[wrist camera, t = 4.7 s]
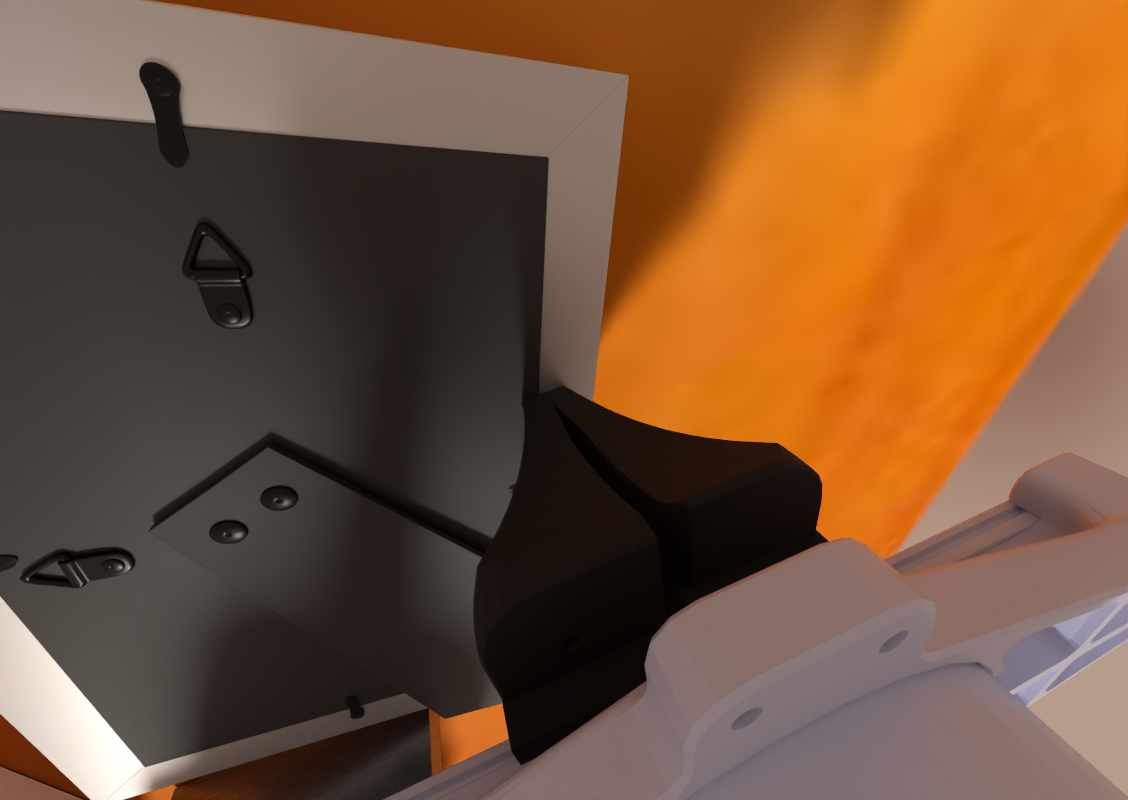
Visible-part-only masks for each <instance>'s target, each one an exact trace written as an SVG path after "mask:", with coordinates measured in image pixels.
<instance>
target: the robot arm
mask: <svg viewBox="0 0 1128 800" xmlns="http://www.w3.org/2000/svg"><path fill="white" fill-rule="evenodd" d="M522 407H523V411H524V422H525V424H524V444H523V452H522V459H521V465H520V469H519V474H518V478H517V481H516V485H515V488H514V491H513V494H512V497H511V500H510V503H509V506H508V508H507V510H506V513H505V515H504V517H503V519H502V521H501V524H500V526H499V528H498V530H497V532H496V534H495V536H494V538H493V540H492V542H491V543H490V545H489V547H488V548H487V550H486V552H485V553H484V555H483V557H482V559H481V560H480V562H479V564H478V565H477V571H476V579H475V588H474V601H473V623H474V632H475V639H476V645H477V652H478V656H479V659H480V662H481V665H482V667H483V669H484V670H485V672H486V674H487V675H488V677H489V679H490V680H491V682H492V684H493V685H494V687H495V689H496V690H497V692H498V694H499V695H500V697H501V699H502V703H503V708H504V714H505V719H506V725H507V730H508V736H509V739H508V740H506V741H504V742H502V743H500V744H498V745H496V746H493V747H491V748H489V749H487V750H485V751H483V752H481V753H479V754H477V755H475V756H473V757H470V758H468V759H466V760H464V761H462V762H460V763H458V764H456V765H454V766H452V767H450V768H447V769H445V770H443V771H441V772H439V773H437V774H435V775H433V776H431V777H429V778H427V779H424V780H422V781H420V782H418V783H416V784H414V785H412V786H410V787H408V788H406V789H404V790H401V791H399V792H397V793H395V794H393V795H391V796H389V797H387V798H385V799H383V800H1128V796H1127V795H1125V794H1124V793H1123V792H1122V791H1121V790H1120V789H1119V788H1118V787H1117V786H1115V785H1114V784H1113V783H1112V782H1111V781H1110V780H1108V779H1107V778H1106V777H1105V776H1104V775H1103V774H1102V773H1100V771H1098V770H1097V769H1096V768H1095V767H1094V766H1093V765H1092V764H1090V763H1089V762H1088V761H1087V760H1086V759H1085V758H1084V757H1082V756H1081V755H1080V754H1079V753H1078V752H1077V751H1076V750H1075V749H1073V748H1072V747H1071V746H1070V745H1069V744H1068V743H1067V742H1065V741H1064V740H1063V739H1062V738H1061V737H1060V736H1059V735H1057V734H1056V733H1055V732H1054V731H1053V730H1052V729H1051V728H1050V727H1048V726H1047V725H1046V724H1045V723H1044V722H1043V721H1042V720H1041V719H1039V718H1038V717H1037V716H1036V715H1035V714H1034V713H1033V712H1031V711H1030V710H1029V709H1028V708H1027V707H1028V706H1030V705H1031V704H1033V703H1034V702H1036V701H1037V700H1039V699H1040V698H1042V697H1043V696H1044V695H1046V694H1048V693H1049V692H1050V691H1052V690H1053V689H1055V688H1057V687H1058V686H1059V685H1061V684H1062V683H1064V682H1065V681H1067V680H1068V679H1070V678H1071V677H1073V676H1074V675H1076V674H1077V673H1079V672H1080V671H1082V670H1083V669H1085V668H1086V667H1088V666H1089V665H1091V664H1093V663H1094V662H1096V661H1097V660H1099V659H1100V658H1101V657H1103V656H1105V655H1106V654H1108V653H1109V652H1111V651H1113V650H1114V649H1116V648H1117V647H1119V646H1120V645H1122V644H1124V643H1125V642H1127V641H1128V478H1127V477H1125V476H1123V475H1120V474H1118V473H1116V472H1114V471H1111V470H1109V469H1107V468H1104V467H1102V466H1100V465H1098V464H1095V463H1093V462H1091V461H1089V460H1086V459H1084V458H1082V457H1080V456H1077V455H1075V454H1073V453H1071V452H1069V453H1063V454H1061V455H1058V456H1056V457H1054V458H1052V459H1050V460H1048V461H1046V462H1043V463H1041V464H1039V465H1037V466H1035V467H1033V468H1031V469H1029V470H1028V471H1026V472H1025V473H1024V474H1023V475H1022V476H1021V477H1020V478H1019V479H1018V480H1017V481H1016V483H1015V484H1014V486H1013V488H1012V490H1011V492H1010V495H1009V500H1008V501H1006V502H1003V503H1002V504H999V505H997V506H995V507H993V508H991V509H989V510H987V511H985V512H983V513H980V514H978V515H976V516H974V517H972V518H970V519H968V520H966V521H964V522H962V523H960V524H957V525H955V526H953V527H951V528H949V529H947V530H945V531H943V532H941V533H939V534H937V535H934V536H932V537H930V538H928V539H926V540H924V541H922V542H920V543H918V544H916V545H914V546H911V547H909V548H908V549H905V550H903V551H901V552H899V553H897V554H895V555H893V556H891V557H888V558H886V559H884V560H883V559H882V558H881V557H880V556H879V555H878V554H876V553H875V552H874V551H873V550H872V549H870V548H869V547H868V546H867V545H866V544H863V543H861V542H859V541H856V540H854V539H852V538H841V539H837V540H833V541H828V540H827V539H826V538H824V537H823V536H822V535H821V534H820V533H819V532H818V531H817V530H816V526H817V521H818V516H819V511H820V506H821V501H822V482H821V480H820V477H819V475H818V474H817V473H816V472H815V471H814V470H813V469H812V468H811V467H809V466H808V465H807V464H806V463H804V462H803V461H802V460H800V459H799V458H798V457H797V456H795V455H794V454H793V453H791V452H790V451H788V450H787V449H786V448H784V447H783V446H781V445H780V444H778V443H764V442H742V441H729V440H721V439H712V438H705V437H699V436H693V435H688V434H683V433H678V432H674V431H669V430H665V429H661V428H658V427H655V426H651V425H648V424H645V423H641V422H639V421H636V420H633V419H630V418H628V417H625V416H623V415H620V414H618V413H615V412H613V411H611V410H609V409H607V408H605V407H602V406H600V405H598V404H596V403H594V402H593V401H591V400H589V399H587V398H585V397H583V396H582V395H580V394H578V393H576V392H574V391H573V390H571V389H569V388H567V387H565V386H561V387H558V388H555V389H552V390H549V391H546V392H543V393H540V394H539V395H536V396H533V397H530V398H527V399H524V401H523V402H522Z"/></svg>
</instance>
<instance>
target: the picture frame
mask: <svg viewBox="0 0 1128 800" xmlns="http://www.w3.org/2000/svg"><path fill="white" fill-rule="evenodd" d="M628 83H629V75H628V74H622V73H615V72H609V71H602V70H596V69H590V68H583V67H577V66H571V65H564V64H558V63H551V62H545V61H539V60H532V59H526V58H519V57H513V56H507V55H500V54H494V53H487V52H481V51H475V50H468V49H462V48H456V47H449V46H443V45H436V44H430V43H424V42H417V41H411V40H404V39H398V38H392V37H385V36H379V35H373V34H366V33H360V32H353V31H347V30H341V29H334V28H328V27H321V26H315V25H309V24H302V23H296V22H290V21H283V20H277V19H270V18H264V17H258V16H251V15H245V14H238V13H232V12H226V11H219V10H213V9H206V8H200V7H194V6H187V5H181V4H175V3H168V2H162V1H155V0H0V714H1V715H2V716H3V717H4V718H5V719H6V720H7V721H8V722H9V723H11V724H12V725H13V726H14V727H15V728H16V729H17V730H18V731H19V732H20V733H21V734H22V735H23V736H24V737H25V738H26V739H27V740H28V741H29V742H31V743H32V744H33V745H34V746H35V747H36V748H37V749H38V750H39V751H40V752H41V753H42V754H43V755H44V756H45V757H46V758H47V759H48V760H49V761H51V762H52V763H53V764H54V765H55V766H56V767H57V768H58V769H59V770H60V771H61V772H62V773H63V774H64V775H65V776H66V777H67V778H68V779H69V780H71V781H72V782H73V783H74V784H75V785H76V786H77V787H78V788H79V789H80V790H81V791H82V792H83V793H84V794H85V795H86V796H87V797H88V798H89V799H91V800H124V799H127V798H130V797H134V796H137V795H140V794H144V793H147V792H150V791H154V790H157V789H160V788H164V787H167V786H170V785H174V784H177V783H180V782H184V781H187V780H190V779H194V778H197V777H200V776H204V775H207V774H210V773H213V772H217V771H220V770H223V769H227V768H230V767H233V766H237V765H240V764H243V763H247V762H250V761H253V760H257V759H260V758H263V757H267V756H270V755H273V754H277V753H280V752H283V751H287V750H290V749H293V748H297V747H300V746H303V745H307V744H310V743H313V742H317V741H320V740H323V739H326V738H330V737H333V736H336V735H340V734H343V733H346V732H350V731H353V730H356V729H360V728H363V727H366V726H370V725H373V724H376V723H380V722H383V721H386V720H390V719H393V718H396V717H400V716H403V715H406V714H410V713H413V712H416V711H420V710H423V709H426V708H429V709H431V710H432V711H434V712H435V713H437V714H438V715H440V716H442V717H443V718H445V719H446V718H450V717H454V716H457V715H461V714H465V713H468V712H472V711H475V710H479V709H483V708H486V707H490V706H494V705H497V704H501V703H502V699H501V697H500V695H499V694H498V692H497V690H496V689H495V687H494V685H493V684H492V682H491V680H490V679H489V677H488V675H487V674H486V672H485V670H484V669H483V667H482V665H481V662H480V659H479V656H478V652H477V645H476V639H475V632H474V623H473V601H474V588H475V579H476V571H477V565H478V564H479V562H480V560H481V559H482V557H483V555H484V553H485V552H486V550H487V548H488V547H489V545H490V543H491V542H492V540H493V538H494V536H495V534H496V532H497V530H498V528H499V526H500V524H501V521H502V519H503V517H504V515H505V513H506V510H507V508H508V506H509V503H510V500H511V497H512V494H513V491H514V488H515V485H516V481H517V478H518V474H519V469H520V465H521V459H522V452H523V444H524V424H525V422H524V411H523V407H522V402H523V401H524V399H527V398H530V397H533V396H536V395H539V394H540V393H543V392H546V391H549V390H552V389H555V388H558V387H561V386H565V387H567V388H569V389H571V390H573V391H574V392H576V393H578V394H580V395H582V396H583V397H585V398H587V399H589V400H591V401H593V395H594V386H595V377H596V368H597V359H598V350H599V341H600V333H601V324H602V315H603V306H604V297H605V288H606V279H607V270H608V261H609V252H610V244H611V235H612V226H613V217H614V208H615V199H616V190H617V181H618V172H619V164H620V155H621V146H622V137H623V128H624V119H625V110H626V101H627V92H628Z"/></svg>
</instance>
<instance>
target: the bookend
mask: <svg viewBox="0 0 1128 800" xmlns="http://www.w3.org/2000/svg"><path fill="white" fill-rule="evenodd" d="M441 771H442V757H441V742H440V726H439V715H438V714H437V713H435V712H434V711H432V710H431V709H429V708H426V709H423V710H420V711H416V712H413V713H410V714H406V715H403V716H400V717H396V718H393V719H390V720H386V721H383V722H380V723H376V724H373V725H370V726H366V727H363V728H360V729H356V730H353V731H350V732H346V733H343V734H340V735H336V736H333V737H330V738H326V739H323V740H320V741H317V742H313V743H310V744H307V745H303V746H300V747H297V748H293V749H290V750H287V751H283V752H280V753H277V754H273V755H270V756H267V757H263V758H260V759H257V760H253V761H250V762H247V763H243V764H240V765H237V766H233V767H230V768H227V769H223V770H220V771H217V772H213V773H210V774H207V775H205V776H203V777H200V778H198V779H196V780H194V781H191V782H189V783H187V784H184V785H182V786H180V787H178V788H175V790H174V793H173V796H172V798H171V800H383V799H385V798H387V797H389V796H391V795H393V794H395V793H397V792H399V791H401V790H404V789H406V788H408V787H410V786H412V785H414V784H416V783H418V782H420V781H422V780H424V779H427V778H429V777H431V776H433V775H435V774H437V773H439V772H441Z"/></svg>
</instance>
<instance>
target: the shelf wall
mask: <svg viewBox="0 0 1128 800" xmlns="http://www.w3.org/2000/svg"><path fill="white" fill-rule="evenodd" d="M0 800H83V799H80V798H78V797H75V796H73V795H70V794H68V793H65V792H63V791H60V790H58V789H55V788H53V787H50V786H48V785H45V784H43V783H40V782H38V781H35V780H33V779H30V778H28V777H25V776H23V775H20V774H18V773H15V772H13V771H10V770H8V769H5V768H3V767H0Z"/></svg>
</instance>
